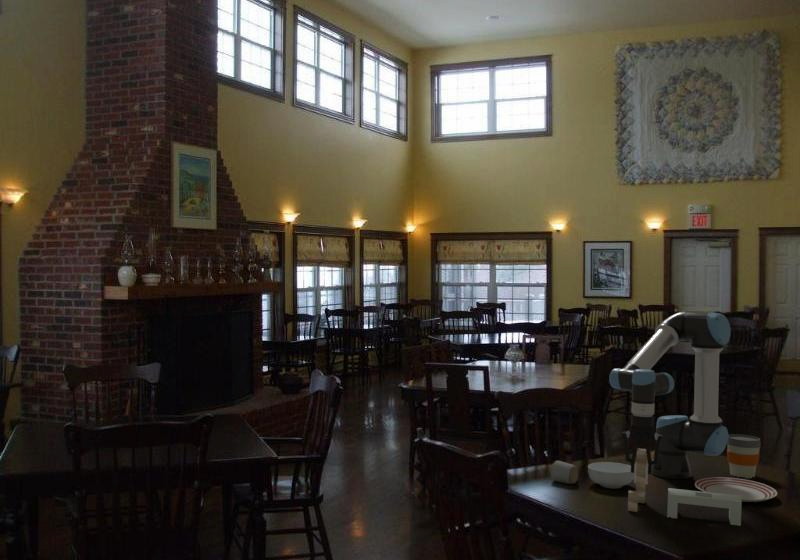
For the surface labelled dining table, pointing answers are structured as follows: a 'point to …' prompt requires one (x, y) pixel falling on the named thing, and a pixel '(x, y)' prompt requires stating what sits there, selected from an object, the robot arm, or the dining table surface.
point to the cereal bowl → (610, 474)
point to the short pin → (633, 501)
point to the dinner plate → (737, 488)
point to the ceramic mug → (564, 472)
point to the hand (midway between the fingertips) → (640, 482)
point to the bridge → (705, 502)
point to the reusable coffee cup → (743, 455)
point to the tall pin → (641, 474)
